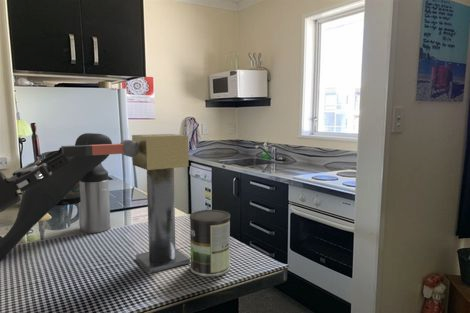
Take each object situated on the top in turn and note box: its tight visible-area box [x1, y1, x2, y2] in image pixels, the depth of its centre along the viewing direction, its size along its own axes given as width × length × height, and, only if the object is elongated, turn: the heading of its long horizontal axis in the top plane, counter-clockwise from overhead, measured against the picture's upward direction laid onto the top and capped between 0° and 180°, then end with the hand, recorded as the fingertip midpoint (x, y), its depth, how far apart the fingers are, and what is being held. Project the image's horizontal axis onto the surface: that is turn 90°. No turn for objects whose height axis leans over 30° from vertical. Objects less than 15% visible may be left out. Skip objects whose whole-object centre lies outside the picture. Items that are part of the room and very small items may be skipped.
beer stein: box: [42, 147, 81, 205], centre depth 162 cm, size 16×19×25 cm
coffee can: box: [189, 209, 231, 278], centre depth 90 cm, size 10×10×14 cm
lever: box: [60, 139, 140, 158], centre depth 84 cm, size 17×4×4 cm, turn 123°
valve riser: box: [131, 133, 191, 274], centre depth 93 cm, size 11×11×34 cm
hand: (63, 156), depth 78 cm, fingers open, 8 cm apart
